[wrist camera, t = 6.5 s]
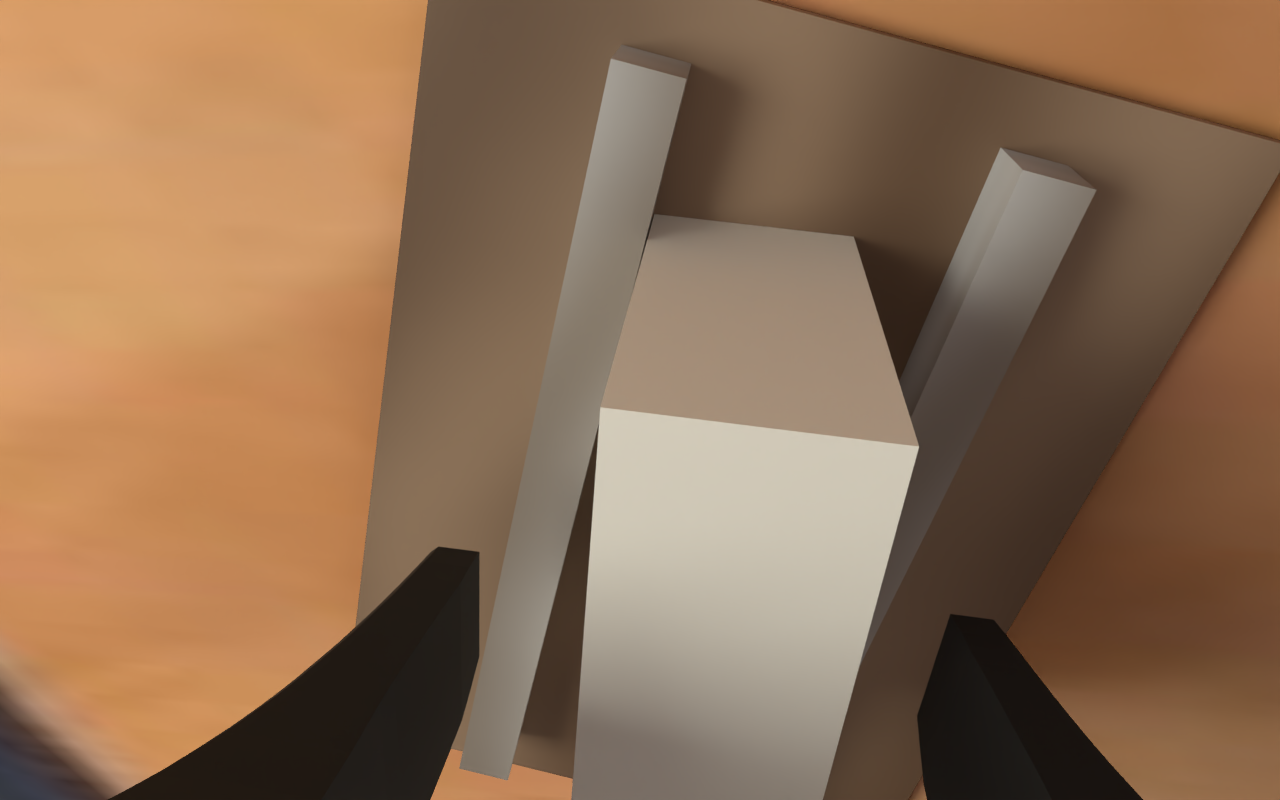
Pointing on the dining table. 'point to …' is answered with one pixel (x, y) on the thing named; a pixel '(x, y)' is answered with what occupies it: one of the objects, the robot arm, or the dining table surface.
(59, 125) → the dining table surface
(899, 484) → the cream rectangular block
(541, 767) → the track board
